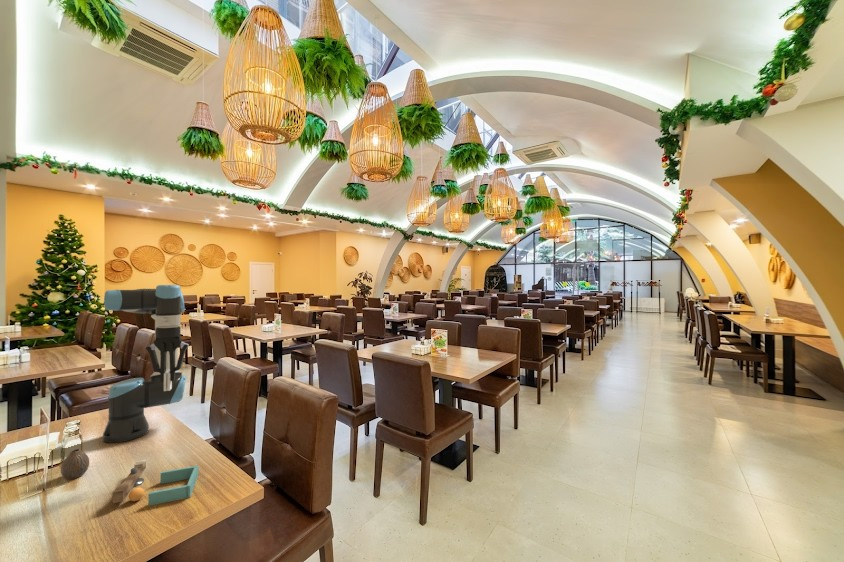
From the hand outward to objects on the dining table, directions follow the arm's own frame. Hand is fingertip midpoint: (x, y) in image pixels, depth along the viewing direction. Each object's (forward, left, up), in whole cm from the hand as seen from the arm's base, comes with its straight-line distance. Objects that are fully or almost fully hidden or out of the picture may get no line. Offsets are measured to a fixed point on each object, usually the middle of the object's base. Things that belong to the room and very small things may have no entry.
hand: (167, 389), depth 128 cm
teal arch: (+22, +7, -26) cm, 35 cm away
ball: (+24, -2, -25) cm, 34 cm away
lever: (+16, -6, -26) cm, 31 cm away
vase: (0, -26, -27) cm, 37 cm away
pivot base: (+13, -6, -26) cm, 30 cm away
